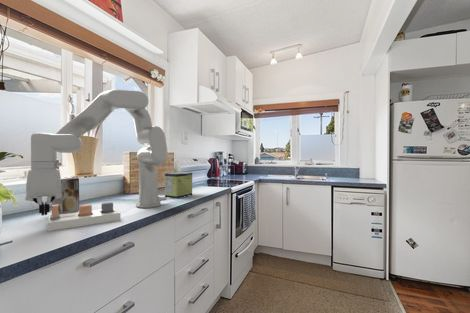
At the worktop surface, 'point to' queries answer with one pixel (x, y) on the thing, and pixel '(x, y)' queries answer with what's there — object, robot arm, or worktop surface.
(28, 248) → the worktop surface
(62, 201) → the coffee box
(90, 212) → the press button
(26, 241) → the worktop surface
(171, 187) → the protein box
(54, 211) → the slider lever
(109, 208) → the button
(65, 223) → the console
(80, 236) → the worktop surface
